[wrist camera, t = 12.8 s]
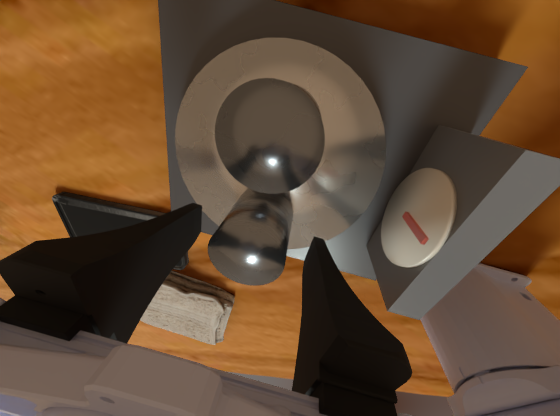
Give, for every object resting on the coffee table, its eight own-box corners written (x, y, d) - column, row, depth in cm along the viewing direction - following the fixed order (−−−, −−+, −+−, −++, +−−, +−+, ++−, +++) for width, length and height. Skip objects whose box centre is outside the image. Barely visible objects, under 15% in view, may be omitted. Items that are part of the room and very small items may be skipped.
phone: (48, 192, 22) (179, 220, 22) (59, 188, 23) (185, 215, 23) (74, 247, 26) (185, 272, 26) (83, 241, 27) (190, 265, 27)
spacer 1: (330, 89, 11) (339, 88, 7) (312, 166, 13) (310, 202, 9) (251, 76, 11) (213, 68, 7) (247, 154, 14) (215, 183, 9)
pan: (430, 77, 11) (438, 76, 10) (335, 260, 18) (336, 267, 17) (178, 10, 11) (169, 5, 10) (183, 218, 18) (178, 223, 18)
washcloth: (227, 332, 34) (219, 353, 31) (121, 299, 33) (104, 317, 31) (239, 288, 28) (231, 309, 25) (110, 247, 27) (88, 264, 25)
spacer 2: (300, 194, 15) (293, 238, 10) (286, 241, 17) (275, 292, 13) (240, 179, 15) (209, 216, 10) (234, 227, 17) (206, 274, 13)
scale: (492, 70, 13) (729, 45, 5) (369, 261, 21) (397, 349, 14) (182, -12, 13) (12, -140, 6) (186, 210, 22) (121, 271, 14)
